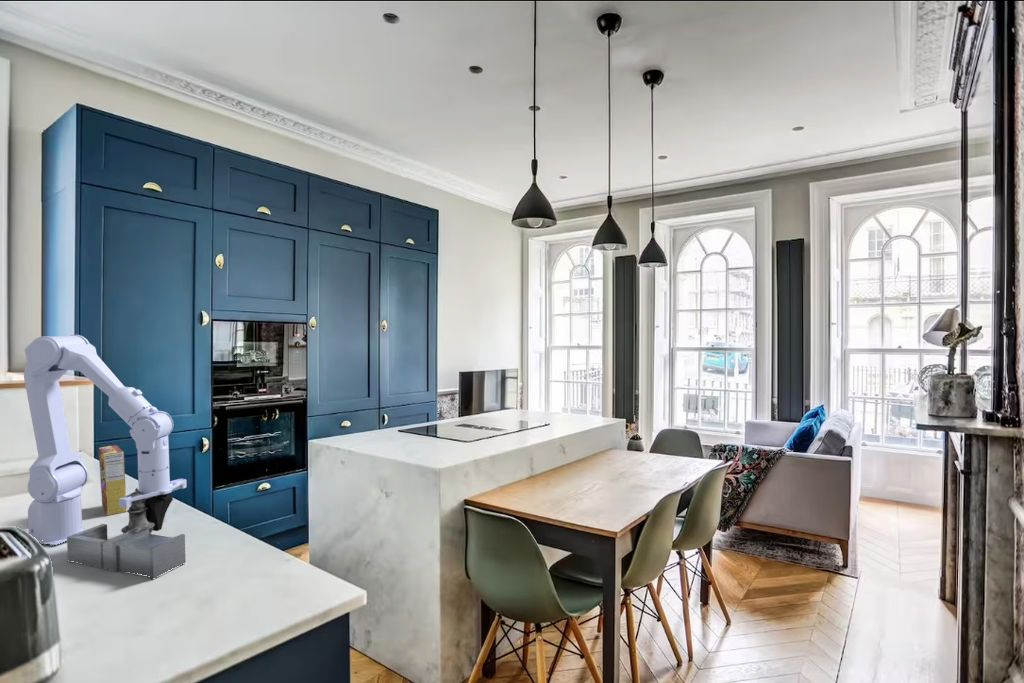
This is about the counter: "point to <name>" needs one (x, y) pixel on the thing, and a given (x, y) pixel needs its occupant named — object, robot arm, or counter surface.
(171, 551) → the grey divided tray
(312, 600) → the counter surface
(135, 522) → the grey tapered rounded piece
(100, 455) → the candy box
